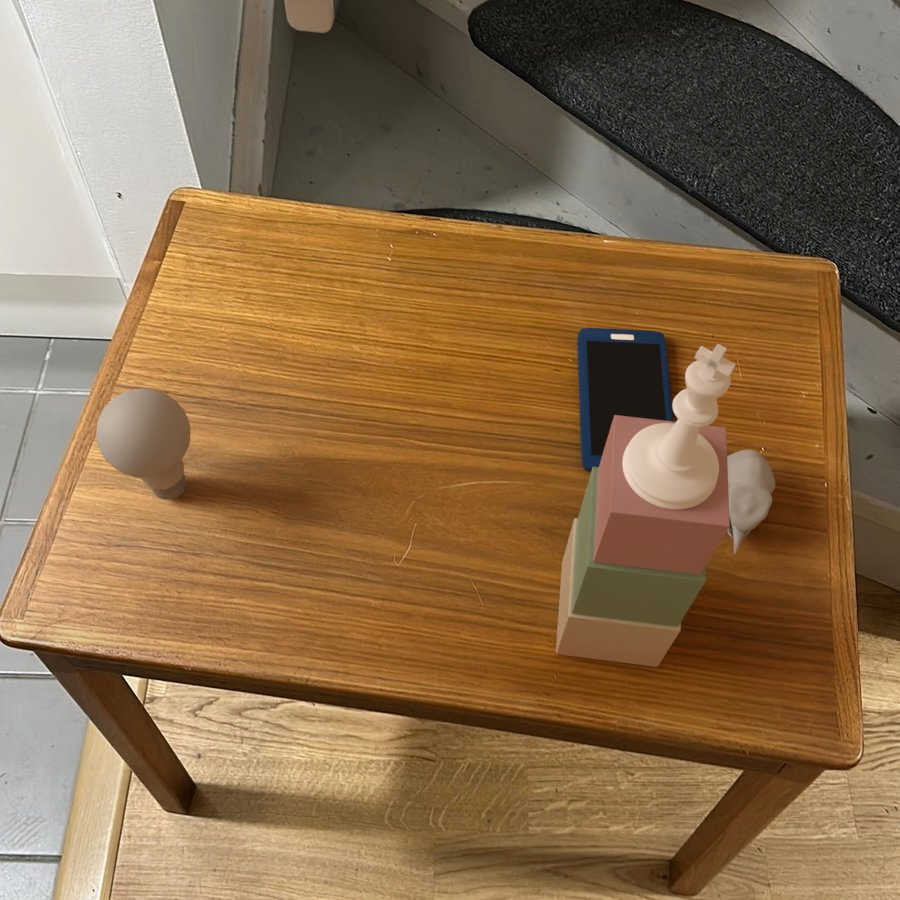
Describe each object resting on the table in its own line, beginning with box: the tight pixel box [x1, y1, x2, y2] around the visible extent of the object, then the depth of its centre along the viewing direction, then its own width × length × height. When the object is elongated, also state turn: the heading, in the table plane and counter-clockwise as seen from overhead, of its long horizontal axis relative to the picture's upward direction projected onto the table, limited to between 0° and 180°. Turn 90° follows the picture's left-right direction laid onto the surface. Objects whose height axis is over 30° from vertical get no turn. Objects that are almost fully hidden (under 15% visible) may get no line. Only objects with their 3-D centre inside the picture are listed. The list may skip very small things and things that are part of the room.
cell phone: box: [576, 327, 675, 473], centre depth 74 cm, size 7×14×1 cm, turn 177°
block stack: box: [555, 415, 730, 668], centre depth 57 cm, size 7×7×20 cm
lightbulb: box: [95, 387, 191, 501], centre depth 65 cm, size 6×6×11 cm
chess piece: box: [622, 343, 737, 510], centre depth 44 cm, size 5×5×10 cm
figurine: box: [726, 448, 776, 555], centre depth 67 cm, size 4×8×5 cm, turn 165°
